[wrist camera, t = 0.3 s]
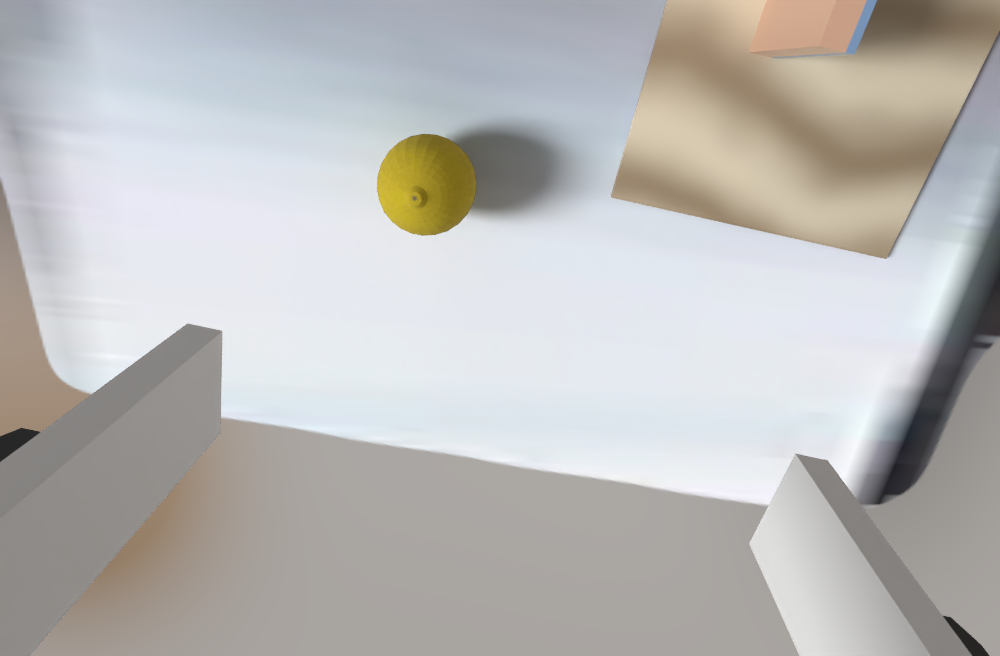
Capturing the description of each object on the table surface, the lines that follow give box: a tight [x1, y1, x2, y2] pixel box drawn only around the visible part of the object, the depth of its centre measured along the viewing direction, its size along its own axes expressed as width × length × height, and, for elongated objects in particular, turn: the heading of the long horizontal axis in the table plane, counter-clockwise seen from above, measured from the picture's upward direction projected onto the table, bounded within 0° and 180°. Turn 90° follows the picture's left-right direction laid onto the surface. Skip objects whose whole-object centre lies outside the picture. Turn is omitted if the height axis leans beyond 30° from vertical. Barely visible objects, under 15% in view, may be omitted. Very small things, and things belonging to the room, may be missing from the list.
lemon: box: [377, 134, 476, 235], centre depth 34 cm, size 6×6×8 cm
